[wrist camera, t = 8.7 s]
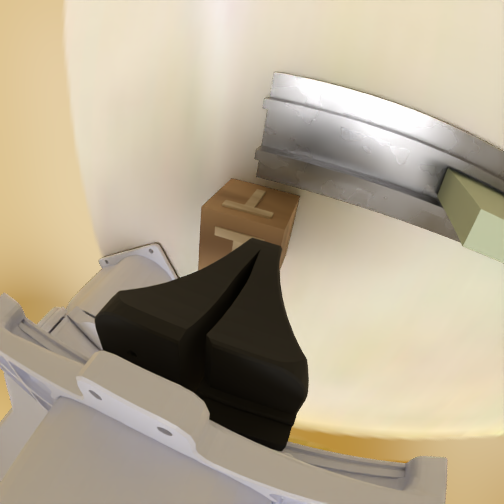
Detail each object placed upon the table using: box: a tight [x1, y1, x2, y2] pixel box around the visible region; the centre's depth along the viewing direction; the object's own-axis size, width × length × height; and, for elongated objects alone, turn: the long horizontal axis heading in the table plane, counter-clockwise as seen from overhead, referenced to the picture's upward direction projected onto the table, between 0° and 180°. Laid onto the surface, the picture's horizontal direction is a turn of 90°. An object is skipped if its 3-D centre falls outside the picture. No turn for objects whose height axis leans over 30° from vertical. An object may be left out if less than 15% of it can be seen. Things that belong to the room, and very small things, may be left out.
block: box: [198, 178, 300, 271], centre depth 21 cm, size 5×5×5 cm
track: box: [255, 72, 504, 242], centre depth 16 cm, size 26×7×2 cm, turn 81°
